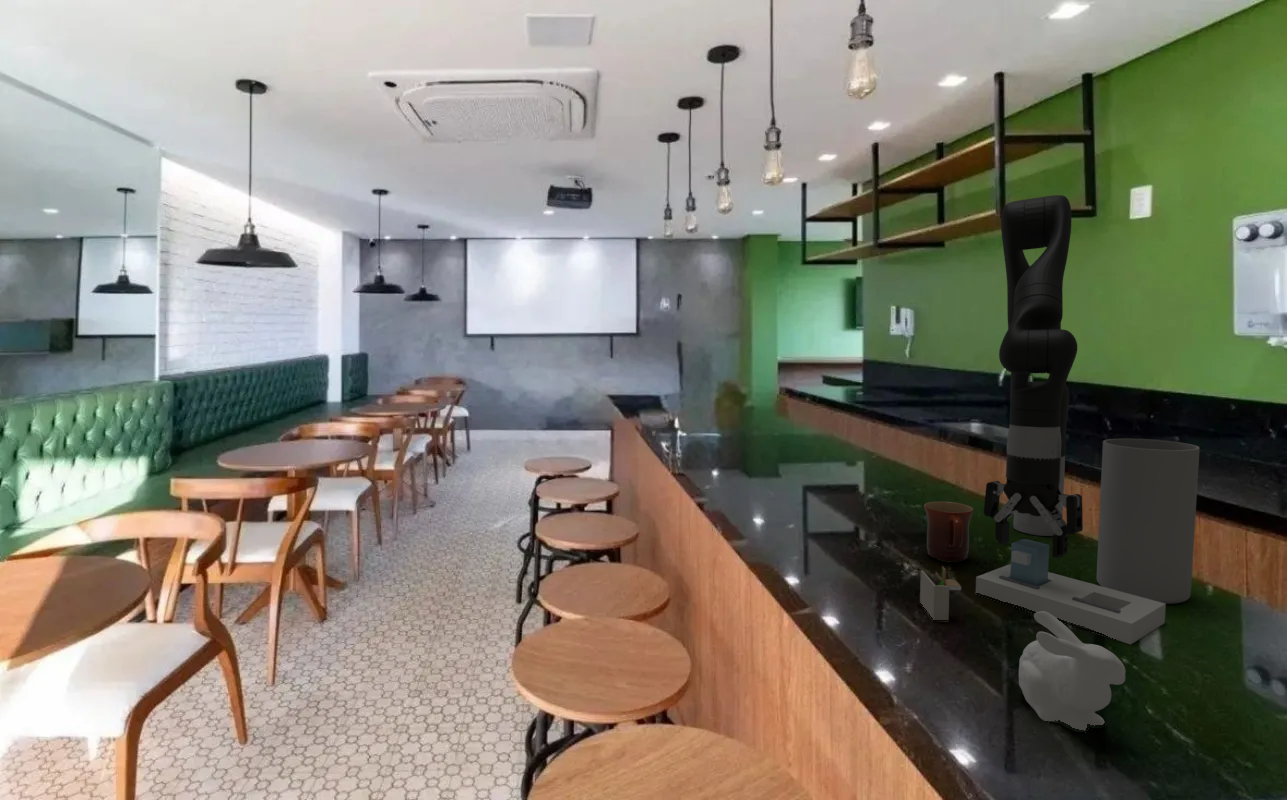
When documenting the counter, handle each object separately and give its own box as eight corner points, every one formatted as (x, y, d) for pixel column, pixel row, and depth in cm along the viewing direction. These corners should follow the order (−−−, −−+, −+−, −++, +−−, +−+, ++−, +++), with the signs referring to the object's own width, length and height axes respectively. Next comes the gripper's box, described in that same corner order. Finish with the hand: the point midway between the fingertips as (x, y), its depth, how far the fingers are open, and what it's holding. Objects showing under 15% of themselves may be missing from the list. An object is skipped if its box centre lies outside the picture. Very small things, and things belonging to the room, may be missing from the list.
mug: (918, 549, 130) (919, 500, 129) (964, 551, 129) (966, 502, 128) (932, 570, 119) (934, 516, 118) (983, 572, 117) (985, 518, 116)
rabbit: (1133, 742, 67) (1139, 632, 66) (1048, 746, 67) (1053, 636, 66) (1053, 681, 79) (1057, 588, 78) (981, 685, 79) (984, 591, 78)
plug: (1021, 590, 108) (1023, 538, 108) (1047, 598, 105) (1049, 544, 104) (1005, 597, 106) (1006, 544, 105) (1030, 605, 102) (1032, 551, 101)
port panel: (1013, 579, 114) (1013, 561, 113) (1164, 623, 95) (1165, 601, 95) (975, 594, 107) (976, 575, 107) (1130, 644, 89) (1131, 621, 88)
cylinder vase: (1169, 581, 111) (1178, 440, 109) (1205, 609, 100) (1215, 451, 97) (1086, 574, 115) (1092, 437, 113) (1111, 600, 104) (1118, 448, 102)
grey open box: (945, 606, 103) (946, 558, 103) (960, 624, 97) (962, 573, 96) (919, 605, 104) (921, 557, 103) (933, 623, 97) (934, 572, 97)
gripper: (1093, 456, 100) (1088, 557, 101) (1001, 445, 112) (998, 536, 113) (1070, 461, 96) (1066, 566, 97) (977, 449, 108) (974, 543, 109)
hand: (1029, 550), depth 105 cm, fingers open, 8 cm apart
